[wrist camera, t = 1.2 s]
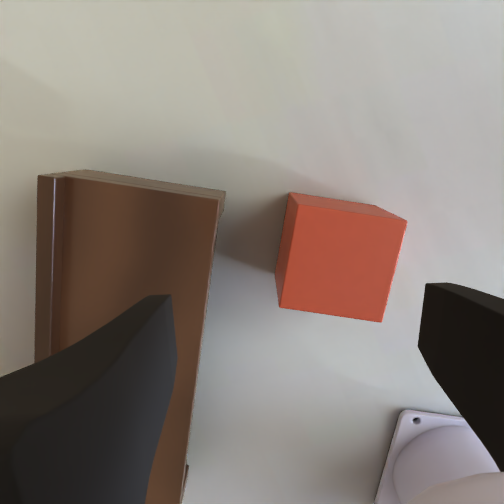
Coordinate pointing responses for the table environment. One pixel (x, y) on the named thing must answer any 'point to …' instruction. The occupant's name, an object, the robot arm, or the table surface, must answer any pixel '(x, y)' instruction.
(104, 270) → the shelf
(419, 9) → the table surface
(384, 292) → the block
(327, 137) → the table surface
